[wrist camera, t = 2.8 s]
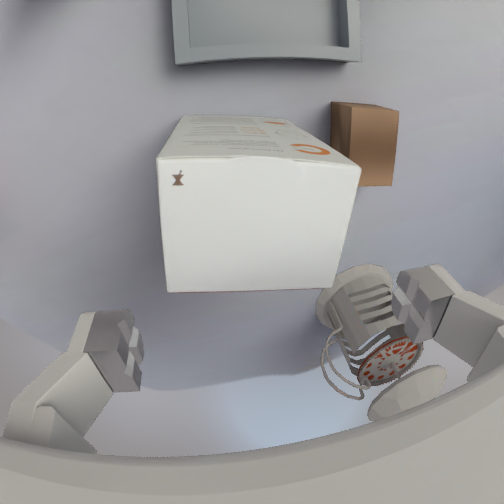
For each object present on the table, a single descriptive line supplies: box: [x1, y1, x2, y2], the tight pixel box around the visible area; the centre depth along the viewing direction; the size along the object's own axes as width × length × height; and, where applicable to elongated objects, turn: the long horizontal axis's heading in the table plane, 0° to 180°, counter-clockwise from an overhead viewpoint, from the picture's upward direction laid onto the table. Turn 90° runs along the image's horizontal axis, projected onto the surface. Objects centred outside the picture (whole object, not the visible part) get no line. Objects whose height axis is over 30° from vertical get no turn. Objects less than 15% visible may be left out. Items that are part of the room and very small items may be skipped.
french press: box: [316, 264, 447, 421], centre depth 23 cm, size 10×12×25 cm
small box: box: [156, 115, 361, 293], centre depth 18 cm, size 8×6×13 cm
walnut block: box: [330, 102, 399, 186], centre depth 22 cm, size 6×4×4 cm, turn 2°
